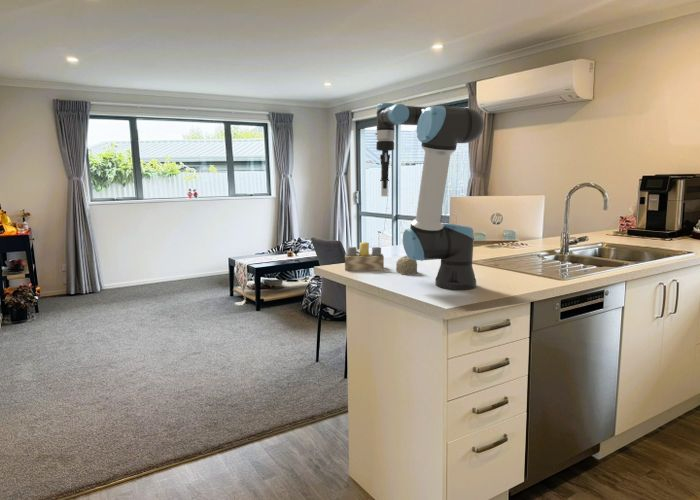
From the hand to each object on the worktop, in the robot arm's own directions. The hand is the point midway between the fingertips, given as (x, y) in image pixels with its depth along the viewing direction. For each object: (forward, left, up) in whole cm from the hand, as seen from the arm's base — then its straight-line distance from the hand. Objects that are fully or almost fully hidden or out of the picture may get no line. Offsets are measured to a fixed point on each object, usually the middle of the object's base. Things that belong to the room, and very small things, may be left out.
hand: (384, 196), depth 204 cm
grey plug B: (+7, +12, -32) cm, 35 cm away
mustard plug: (+5, +7, -30) cm, 31 cm away
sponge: (-11, -5, -33) cm, 35 cm away
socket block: (+5, +7, -32) cm, 33 cm away
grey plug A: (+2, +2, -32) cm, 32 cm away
